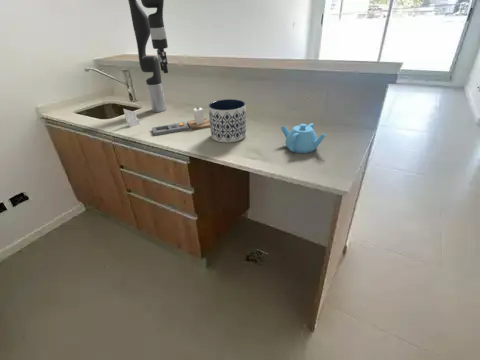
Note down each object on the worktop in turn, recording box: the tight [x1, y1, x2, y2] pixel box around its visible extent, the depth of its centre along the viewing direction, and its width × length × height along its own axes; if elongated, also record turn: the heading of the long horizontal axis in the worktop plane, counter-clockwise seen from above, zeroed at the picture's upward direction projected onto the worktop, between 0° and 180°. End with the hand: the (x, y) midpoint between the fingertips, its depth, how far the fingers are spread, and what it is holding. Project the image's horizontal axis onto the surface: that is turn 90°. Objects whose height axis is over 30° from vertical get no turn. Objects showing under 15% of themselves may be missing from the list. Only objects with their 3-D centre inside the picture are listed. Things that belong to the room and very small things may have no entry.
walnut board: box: [186, 117, 210, 131], centre depth 154 cm, size 12×12×1 cm
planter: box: [207, 98, 247, 143], centre depth 135 cm, size 18×18×16 cm
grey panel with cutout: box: [151, 122, 189, 136], centre depth 149 cm, size 9×18×2 cm, turn 113°
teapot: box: [280, 122, 327, 154], centre depth 122 cm, size 15×17×11 cm
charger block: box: [192, 106, 205, 125], centre depth 152 cm, size 4×4×9 cm
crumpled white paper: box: [122, 108, 141, 128], centre depth 156 cm, size 4×10×9 cm, turn 143°
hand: (164, 71), depth 146 cm, fingers open, 8 cm apart
